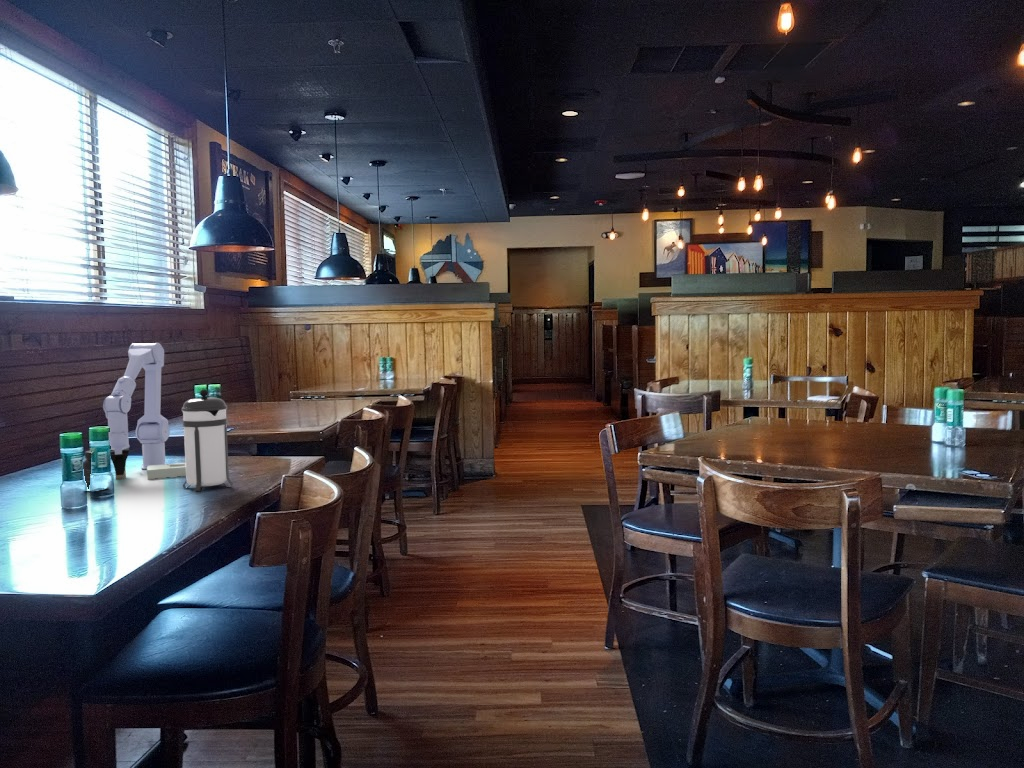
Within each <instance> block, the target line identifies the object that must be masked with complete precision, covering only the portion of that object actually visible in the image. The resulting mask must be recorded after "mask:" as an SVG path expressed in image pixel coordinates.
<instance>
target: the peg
mask: <svg viewBox="0 0 1024 768" xmlns="http://www.w3.org/2000/svg"><path fill="white" fill-rule="evenodd" d="M114 473H115V479H116V480H124V478H125V479H127V473H126V469H125V471H124V475H116V472H115V471H114Z"/></svg>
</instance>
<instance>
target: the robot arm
mask: <svg viewBox="0 0 1024 768" xmlns="http://www.w3.org/2000/svg"><path fill="white" fill-rule="evenodd" d="M127 354H128V355H127V356H128V359H129V360H128V363H127V366H126V369H125V371H124V373H123V376H121V377H119V378H118V379H117V382H116V383H115V386H114V387H113V390H112V392H111V394H110V395H109V396H107V397H105V398H104V400H103V403H102V404H103V405H102V409H103V412H104V414H105V418H106V419H107V428H108V427H109V428H110V432H108V441H109V440H110V446H111V449H110V450H111V451H110V452H111V453H110V454H111V458H110V460H111V462H112V464H113V467H114V473H115V472H116V475H124V471H125V470H126V464H127V459H128V457H129V455H130V454H129V453H130V449H129V448H130V442H129V441H130V440H129V422H128V421H129V420H128V412H129V411H130V410H131V406H132V398H131V397H132V395H133V393H134V391H135V389H136V387H137V383H136V381H135V380H136V379H137V377H138V375H139V373H140V372H141V370H142V368H143V370H144V372H145V373H144V375H145V376H144V410H143V411H144V412H143V413H144V415H142V416H141V417H140V418H139V419H137V423H136V424H137V425H136V428H135V437H136V439H137V440H138V441H139V443H140V444H141V450H142V452H141V453H142V464H141V470H147V466H149V465H162V464H168V463H167V462H166V449H165V447H166V445H165V444H166V443H165V442H167V440H168V439H169V437H170V433H171V431H170V427H169V419H168V418H166V417H164V416H163V415H162V414H161V398H162V368H163V367H164V366H165V349H164V347H163V346H162V344H161V343H160V342H155V343H154V342H153V343H135V342H134V343H133V342H132V343H131V344H130V346H129V347H128V350H127Z"/></svg>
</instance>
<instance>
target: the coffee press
mask: <svg viewBox="0 0 1024 768" xmlns="http://www.w3.org/2000/svg"><path fill="white" fill-rule="evenodd" d="M199 395H200V396H201V397H195V398H191V399H187V400H186V401H185V402H184V403H183V406H182V407H181V412H182V414H183V415H182V427H183V439H184V457H185V458H184V460H185V462H184V463H185V464H186V476H185V481H184V483H183V485H182V488H183V489H185V488H186V487H187V488H186V489H189V488H190V487H191V486H192V487H194V489H195V493H196V492H201V491H203V489H204V488H205V487H212V486H219V485H223V486H225V487H226V488H227V487H231V488H232V487H233V486H234V483H233V482H232V480H231V479H230V474H229V473H230V471H229V470H230V469H229V454H228V453H229V448H228V447H229V446H228V445H229V444H228V427H227V425H228V417H227V410H228V405H227V404H226V402H225V400H223V399H222V398H219V397H208V395H209V391H208V390H207V389H201V390H200V391H199ZM227 482H228V483H229V484H230V485H229V484H227ZM186 484H187V485H188V486H186ZM201 493H202V492H201Z"/></svg>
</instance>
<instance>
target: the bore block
mask: <svg viewBox="0 0 1024 768" xmlns="http://www.w3.org/2000/svg"><path fill="white" fill-rule="evenodd" d="M146 470H147V480H155V478H158V479H167V478H166V477H170V478H178V477H177V476H181V477H186V464H185V462H177V463H167V464H162V465H149V466H147V469H146Z"/></svg>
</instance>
